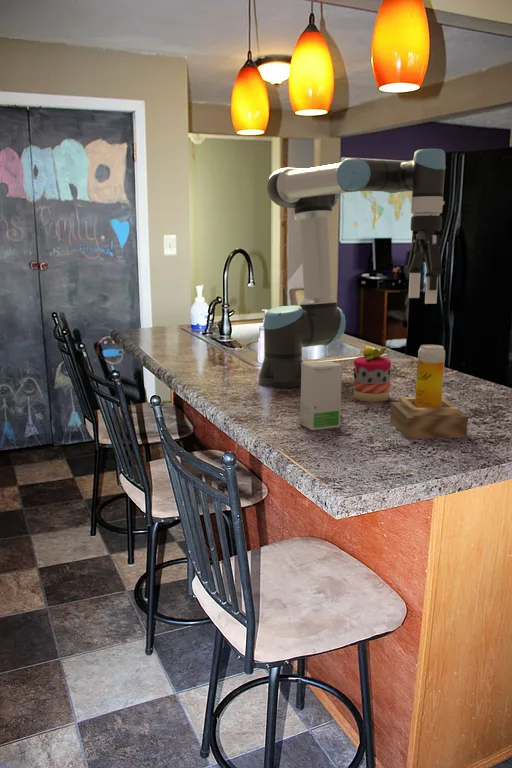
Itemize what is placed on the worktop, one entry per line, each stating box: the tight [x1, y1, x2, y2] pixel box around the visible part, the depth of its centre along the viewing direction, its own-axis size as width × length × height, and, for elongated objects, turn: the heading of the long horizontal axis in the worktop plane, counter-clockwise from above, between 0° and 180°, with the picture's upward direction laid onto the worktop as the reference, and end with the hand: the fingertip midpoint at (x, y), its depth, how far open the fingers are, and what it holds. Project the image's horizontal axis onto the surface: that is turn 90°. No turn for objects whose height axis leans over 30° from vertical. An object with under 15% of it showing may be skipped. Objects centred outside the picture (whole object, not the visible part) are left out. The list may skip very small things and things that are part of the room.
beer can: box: [414, 344, 446, 408], centre depth 155 cm, size 6×6×15 cm
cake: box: [351, 346, 392, 403], centre depth 185 cm, size 10×11×15 cm
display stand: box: [390, 396, 469, 440], centre depth 157 cm, size 14×14×6 cm
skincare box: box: [299, 360, 343, 431], centre depth 159 cm, size 8×7×16 cm
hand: (421, 300), depth 168 cm, fingers open, 13 cm apart
